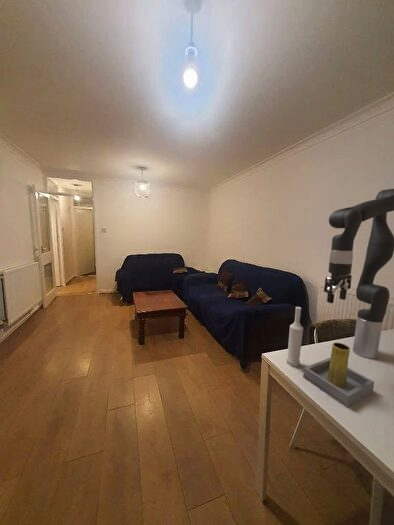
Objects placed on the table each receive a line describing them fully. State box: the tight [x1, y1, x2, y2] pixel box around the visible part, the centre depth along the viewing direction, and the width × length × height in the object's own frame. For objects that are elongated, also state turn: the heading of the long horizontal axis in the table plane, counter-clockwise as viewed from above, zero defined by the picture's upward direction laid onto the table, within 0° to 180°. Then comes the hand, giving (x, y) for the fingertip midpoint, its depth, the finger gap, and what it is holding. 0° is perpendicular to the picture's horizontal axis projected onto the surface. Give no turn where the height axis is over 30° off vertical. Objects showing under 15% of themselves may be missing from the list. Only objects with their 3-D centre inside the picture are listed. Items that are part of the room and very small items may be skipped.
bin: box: [302, 357, 375, 408], centre depth 80 cm, size 16×16×4 cm
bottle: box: [286, 306, 304, 368], centre depth 91 cm, size 5×5×25 cm
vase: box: [327, 342, 351, 387], centre depth 80 cm, size 6×6×14 cm
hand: (336, 301), depth 88 cm, fingers open, 8 cm apart
